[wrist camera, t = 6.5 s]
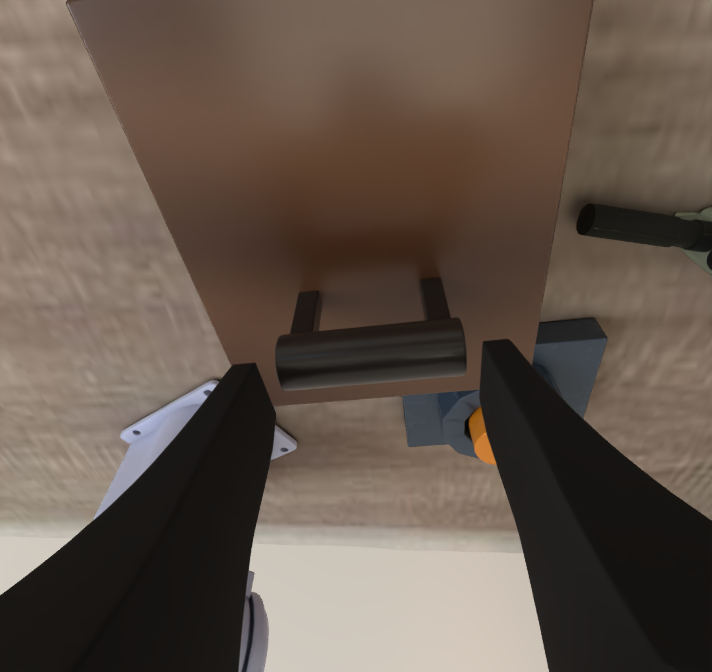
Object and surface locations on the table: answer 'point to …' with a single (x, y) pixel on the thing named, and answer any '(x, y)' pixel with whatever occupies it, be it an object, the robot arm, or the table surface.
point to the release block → (551, 360)
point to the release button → (480, 437)
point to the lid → (352, 174)
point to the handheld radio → (652, 229)
